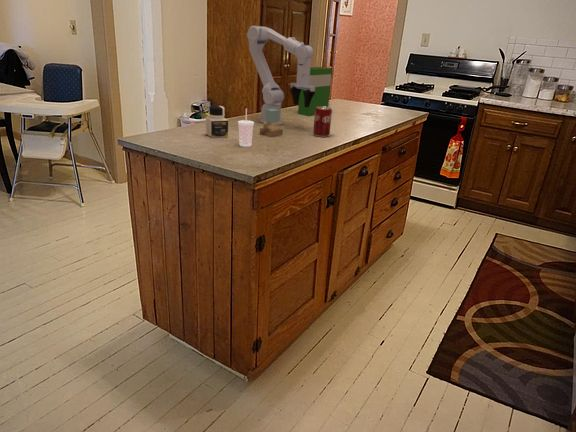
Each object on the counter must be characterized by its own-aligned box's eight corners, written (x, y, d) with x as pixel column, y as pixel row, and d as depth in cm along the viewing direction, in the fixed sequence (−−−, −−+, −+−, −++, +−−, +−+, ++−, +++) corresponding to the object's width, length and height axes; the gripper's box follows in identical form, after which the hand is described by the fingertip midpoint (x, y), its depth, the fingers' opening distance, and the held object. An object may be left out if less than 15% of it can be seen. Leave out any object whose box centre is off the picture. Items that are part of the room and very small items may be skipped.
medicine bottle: (211, 138, 176) (211, 107, 171) (206, 134, 182) (205, 104, 177) (228, 137, 179) (228, 107, 174) (222, 133, 185) (222, 104, 180)
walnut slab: (259, 135, 188) (259, 128, 187) (270, 133, 193) (270, 126, 192) (271, 138, 184) (271, 131, 183) (282, 136, 189) (282, 129, 188)
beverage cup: (240, 147, 165) (241, 109, 160) (235, 143, 170) (236, 106, 165) (255, 146, 168) (256, 109, 162) (250, 142, 173) (251, 106, 167)
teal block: (265, 121, 186) (265, 109, 184) (273, 120, 189) (273, 108, 187) (270, 123, 183) (271, 110, 181) (278, 122, 186) (279, 110, 184)
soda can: (331, 134, 195) (333, 107, 190) (327, 138, 189) (329, 110, 184) (315, 132, 197) (317, 105, 192) (310, 135, 191) (313, 108, 186)
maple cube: (263, 128, 187) (263, 121, 186) (270, 126, 191) (271, 120, 189) (272, 130, 184) (272, 123, 183) (279, 129, 188) (280, 122, 187)
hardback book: (317, 111, 250) (320, 67, 241) (327, 113, 246) (332, 68, 237) (298, 114, 238) (301, 67, 228) (308, 116, 233) (312, 69, 224)
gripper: (286, 73, 197) (284, 103, 202) (307, 76, 186) (305, 108, 192) (298, 72, 201) (296, 103, 206) (319, 76, 191) (317, 107, 196)
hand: (301, 105), depth 199 cm, fingers open, 7 cm apart
